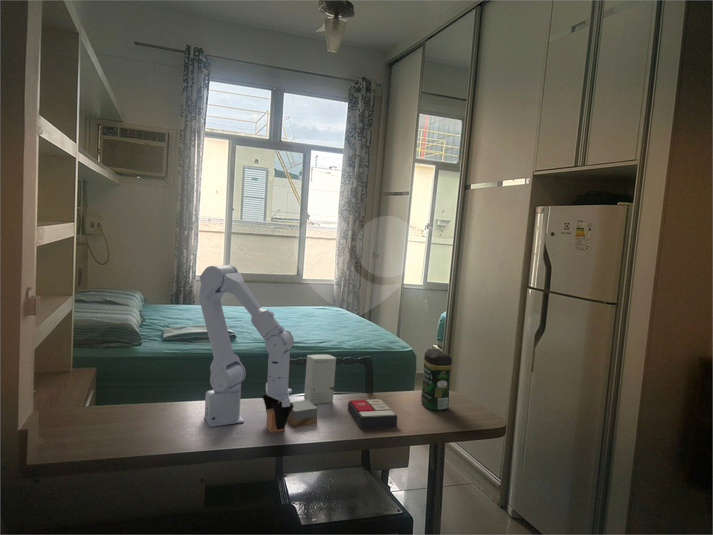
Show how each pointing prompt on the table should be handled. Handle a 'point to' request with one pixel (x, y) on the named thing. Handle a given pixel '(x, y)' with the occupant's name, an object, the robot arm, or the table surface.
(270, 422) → the terracotta block
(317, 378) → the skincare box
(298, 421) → the tower base slab
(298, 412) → the tower top slab
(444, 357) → the coffee jar
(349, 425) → the table surface
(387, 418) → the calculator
